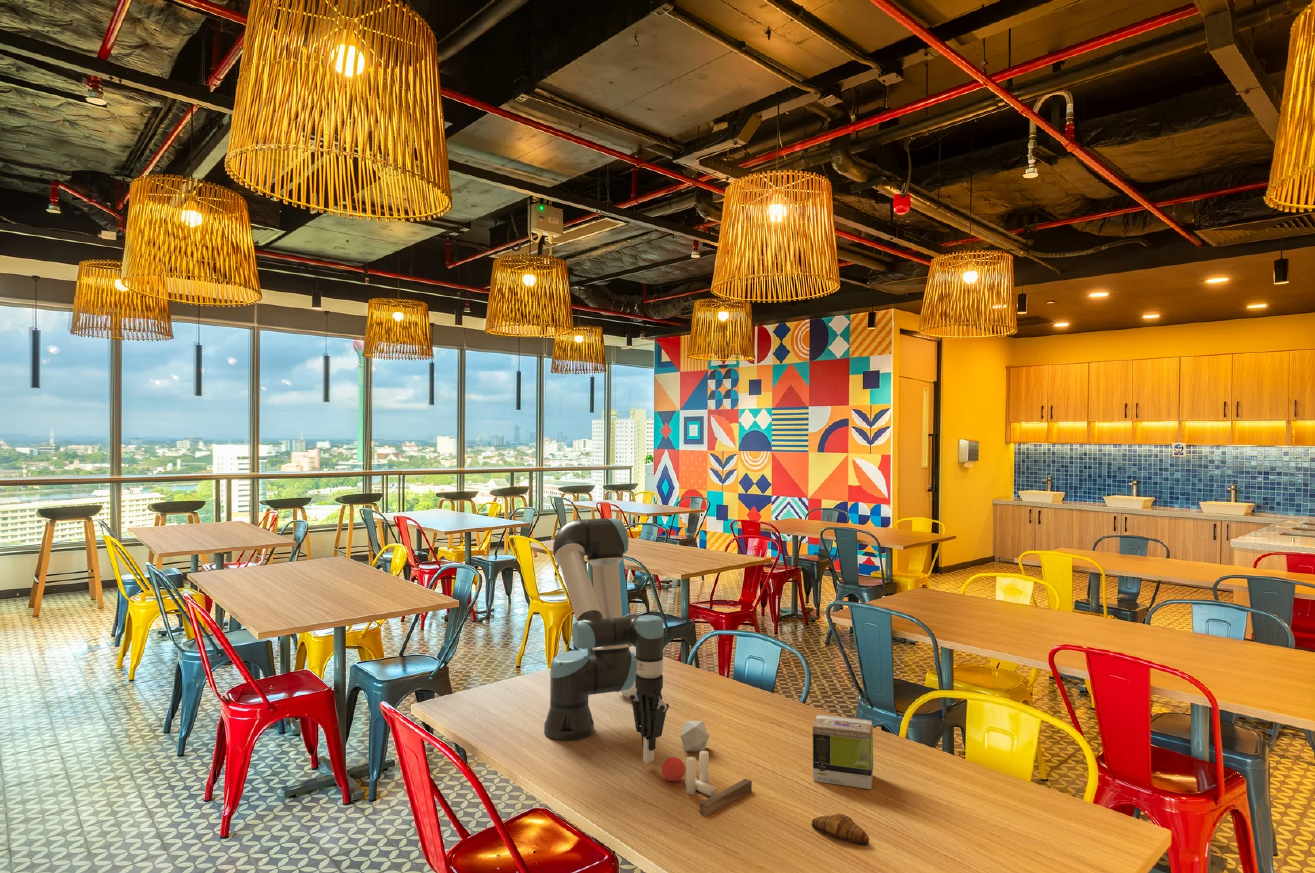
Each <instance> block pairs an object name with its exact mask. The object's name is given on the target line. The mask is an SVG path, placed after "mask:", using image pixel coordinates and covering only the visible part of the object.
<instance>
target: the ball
mask: <svg viewBox="0 0 1315 873" xmlns="http://www.w3.org/2000/svg"><path fill="white" fill-rule="evenodd" d="M684 763H685V762H683V759H682V758H680V757H677V756H670V757H668V758H666V759H665V760H664V762H663V763H662V769H661V771H662V775H663V776H664V777H665V779H666V780H668V781H669V782H679V781H681V779H682V778H683V777H684V775H685V774H686V767H685V764H684Z"/></svg>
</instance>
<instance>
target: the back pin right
mask: <svg viewBox="0 0 1315 873" xmlns="http://www.w3.org/2000/svg"><path fill="white" fill-rule="evenodd" d="M685 761H686V762H685V764H686V767H685V774H686V775H685V779H686V785H685V793H686V794H687V795H695V794H696V791H697V790H696V779H697V778H696V777H697V775H696V773H697V772H696V771H697V770H696V769H697V768H696V767H697V763H696V762H697V759H696V757H694V756H687V757H686V760H685Z"/></svg>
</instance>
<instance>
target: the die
mask: <svg viewBox="0 0 1315 873" xmlns="http://www.w3.org/2000/svg"><path fill="white" fill-rule="evenodd" d="M679 737H680V739H681V742H682V745H683V747H684V750H685V752H700V751H705V749H706V746H707V744H708V741H709V738H710V735H709V732H708V730H707V727H706V725H705V722H704V720H685V721H684V724H683V727H682V730H681V732H680V735H679Z"/></svg>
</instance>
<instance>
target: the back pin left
mask: <svg viewBox="0 0 1315 873" xmlns="http://www.w3.org/2000/svg"><path fill="white" fill-rule="evenodd" d="M698 752H699V754H698V755H699V756H698V757H699V759H698V760H699V761H698V762H699V765H698V766H699V767H698V770H699V771H698V780H700V781H702V782H704V783H707V784H709V766H710V765H709V763H710V762H709V761H710V760H709V759H710V758H709V754H710V753H709V751H707V750H704V751H698Z"/></svg>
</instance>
